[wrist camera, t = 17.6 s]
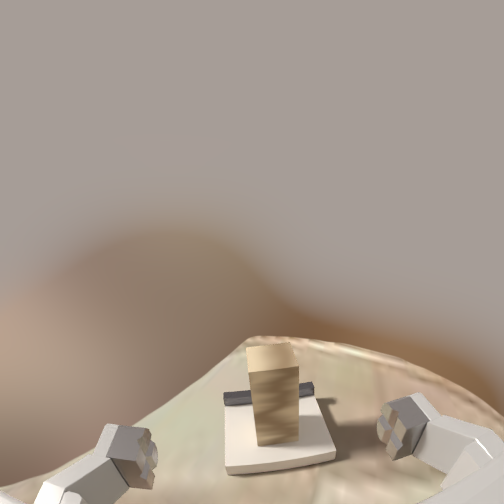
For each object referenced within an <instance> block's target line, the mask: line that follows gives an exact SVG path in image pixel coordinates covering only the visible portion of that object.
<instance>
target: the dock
mask: <svg viewBox="0 0 504 504" xmlns="http://www.w3.org/2000/svg"><path fill="white" fill-rule="evenodd" d="M224 404H225V468H226V471H227V475H235V474H248V473H259V472H268V471H276V470H283V469H289V468H295V467H301V466H307V465H312V464H317V463H321V462H326V461H330V460H334V459H335V456H336V448H335V446H334V443H333V441H332V438H331V436H330V433H329V431H328V428H327V426H326V423H325V421H324V418H323V416H322V413H321V411H320V408H319V406H318V403H317V401H316V399H315V396H314V385H313V383H312V382H306V383H300V384H299V441H294V442H288V443H281V444H274V445H266V446H258V445H257V437H256V429H255V421H254V413H253V405H252V397H251V390H247V391H237V392H224Z"/></svg>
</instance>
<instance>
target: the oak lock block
mask: <svg viewBox="0 0 504 504" xmlns="http://www.w3.org/2000/svg"><path fill="white" fill-rule="evenodd" d="M246 353H247V363H248V372H249V380H250V389H251V397H252V405H253V413H254V421H255V429H256V437H257V445H258V446H266V445H274V444H281V443H288V442H294V441H299V365H298V363H297V360H296V357H295V355H294V352H293V350H292V347H291V344H290V342H288V343H281V344H273V345H264V346H256V347H246Z"/></svg>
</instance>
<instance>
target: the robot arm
mask: <svg viewBox="0 0 504 504" xmlns="http://www.w3.org/2000/svg"><path fill="white" fill-rule="evenodd" d="M381 412H382V414H383V415H382V416H381V417H380V418H379V419H378V422H377V434H378V437H379V439H380V440H381V442H383V443H386V444H387V447H386V451H387V452H388V454H389V456H390V457H391V459H392V461H395V460H398V459H400V458H403V457H406V456H409V455H411V454H412V455H413V456H414V457H416V458H418V459H420V460H421V461H423V462H425V463H427V464H429V465H431V466H432V467H434V468H436V469H438V470H440V471H442V472H444V473H446V474H447V476H446V477H445V478H444V480H443V481H442V483H441V485H440V487H441V488H442V490H443V491H441V492H439V493H437V494H435V495H433V496H431V497H429V498H427V499H425V500H423V501H421V502H419V503H417V504H504V442H503V441H502V440H501V439H500V438H499V437H498V436H497V435H496V433H495V432H494V431H493V430H492V429H488V428H485V427H481V426H478V425H475V424H471V423H468V422H465V421H462V420H459V419H455V418H452V417H449V416H446V415H443V416H441V415H440V414H439V413H438V412H437V410H436V409H435V408H434V407H433V406H432V405H431V404H430V402H429V401H428V400H427V399H426V398H425V397H424V396H423V395H422V394H421V393H419V392H418V393H415V394H412V395H409V396H406V397H403V398H400V399H396V400H393V401H390V402H387V403H384V404H383V406H382V408H381ZM150 439H151V433H150V431H149V429H147V428H139V427H131V426H123V425H114V424H107V425H106V426H105V427H104V429H103V432H102V434H101V436H100V438H99V441H98V443H97V445H96V448H95V450H94V453H93V455H91V454H89V455H87V456H85V457H84V458H82V459H81V460H79V461H78V462H76V463H74V464H73V465H71V466H69V467H68V468H66V469H65V470H63V471H61V472H60V473H58V474H56V475H55V476H53V477H51V478H49V479H48V480H46V481H44V483H43V485H42V487H41V489H40V491H39V494H38V496H37V498H36V500H35V502H34V504H114V503H115V502H116V501H117V500H118V499H119V498H120V497H121V496H122V495H123V494H124V493H125V492H126V491H127V490H128V489H129V487H131V488H140V489H150V490H152V488H153V483H154V477H155V475H154V473H153V471H152V470H153V469H154V468H155V467H157V461H158V453H157V448H156V445H155V443H154V442H152V441H151V440H150ZM0 504H26V503H24V502H22V501H20V500H18V499H16V498H14V497H12V496H10V495H8V494H6V493H5V492H3V491H1V490H0Z"/></svg>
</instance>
